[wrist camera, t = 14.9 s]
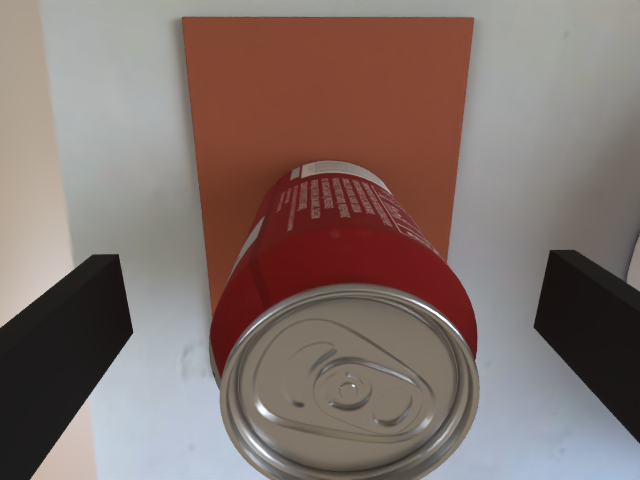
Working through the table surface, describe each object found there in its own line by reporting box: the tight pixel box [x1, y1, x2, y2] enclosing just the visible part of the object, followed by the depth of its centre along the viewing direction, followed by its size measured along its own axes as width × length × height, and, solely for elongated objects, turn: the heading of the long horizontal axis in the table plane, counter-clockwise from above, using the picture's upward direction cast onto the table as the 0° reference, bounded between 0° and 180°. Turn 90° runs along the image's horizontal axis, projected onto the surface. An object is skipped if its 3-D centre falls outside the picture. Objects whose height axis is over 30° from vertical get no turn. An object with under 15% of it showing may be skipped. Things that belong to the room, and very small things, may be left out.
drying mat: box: [182, 17, 474, 316], centre depth 20 cm, size 18×12×1 cm, turn 0°
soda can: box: [209, 159, 480, 480], centre depth 14 cm, size 7×7×12 cm
